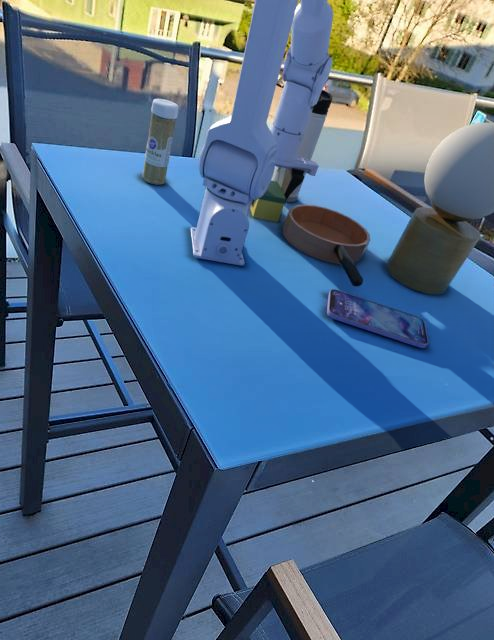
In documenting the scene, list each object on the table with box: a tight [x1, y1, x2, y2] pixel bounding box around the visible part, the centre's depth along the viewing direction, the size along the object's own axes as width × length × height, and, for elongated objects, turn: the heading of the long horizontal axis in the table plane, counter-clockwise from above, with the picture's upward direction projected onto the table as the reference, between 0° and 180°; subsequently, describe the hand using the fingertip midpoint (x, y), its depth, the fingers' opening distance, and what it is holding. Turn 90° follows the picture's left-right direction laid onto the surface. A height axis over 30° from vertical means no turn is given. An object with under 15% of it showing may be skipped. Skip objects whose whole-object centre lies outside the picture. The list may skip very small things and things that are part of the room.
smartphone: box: [326, 288, 429, 349], centre depth 72 cm, size 7×1×15 cm
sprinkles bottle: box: [141, 98, 180, 186], centre depth 87 cm, size 5×5×14 cm
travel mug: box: [271, 89, 333, 203], centre depth 95 cm, size 6×7×20 cm
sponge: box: [250, 181, 286, 223], centre depth 92 cm, size 8×5×4 cm, turn 5°
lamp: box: [385, 122, 494, 296], centre depth 81 cm, size 15×14×25 cm
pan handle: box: [334, 244, 364, 288], centre depth 78 cm, size 12×2×2 cm, turn 5°
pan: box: [282, 204, 371, 265], centre depth 88 cm, size 15×15×4 cm
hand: (264, 204), depth 93 cm, fingers closed on sponge, 5 cm apart
